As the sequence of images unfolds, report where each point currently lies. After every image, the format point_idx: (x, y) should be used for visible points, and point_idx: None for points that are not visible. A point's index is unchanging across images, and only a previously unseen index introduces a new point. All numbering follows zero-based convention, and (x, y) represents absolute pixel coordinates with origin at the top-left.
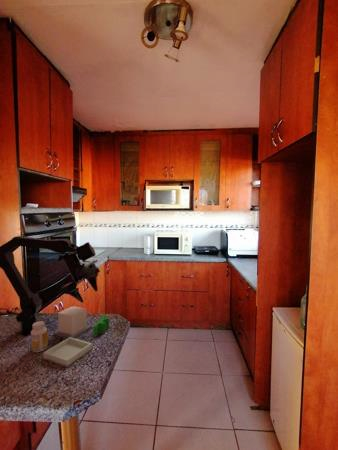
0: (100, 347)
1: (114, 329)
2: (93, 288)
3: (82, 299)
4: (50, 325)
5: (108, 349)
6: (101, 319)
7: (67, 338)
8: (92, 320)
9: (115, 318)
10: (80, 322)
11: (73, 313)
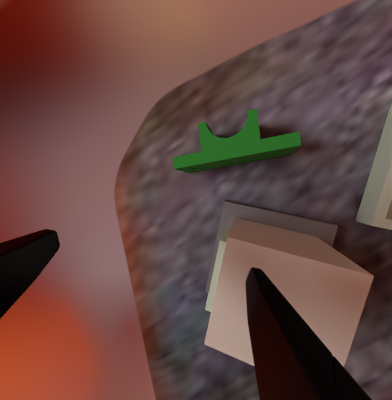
0: (370, 73)
1: (216, 109)
2: (29, 282)
3: (263, 285)
4: (238, 367)
5: (381, 29)
6: (218, 151)
7: (388, 228)
8: (170, 231)
9: (139, 156)
10: (272, 233)
11: (324, 283)
